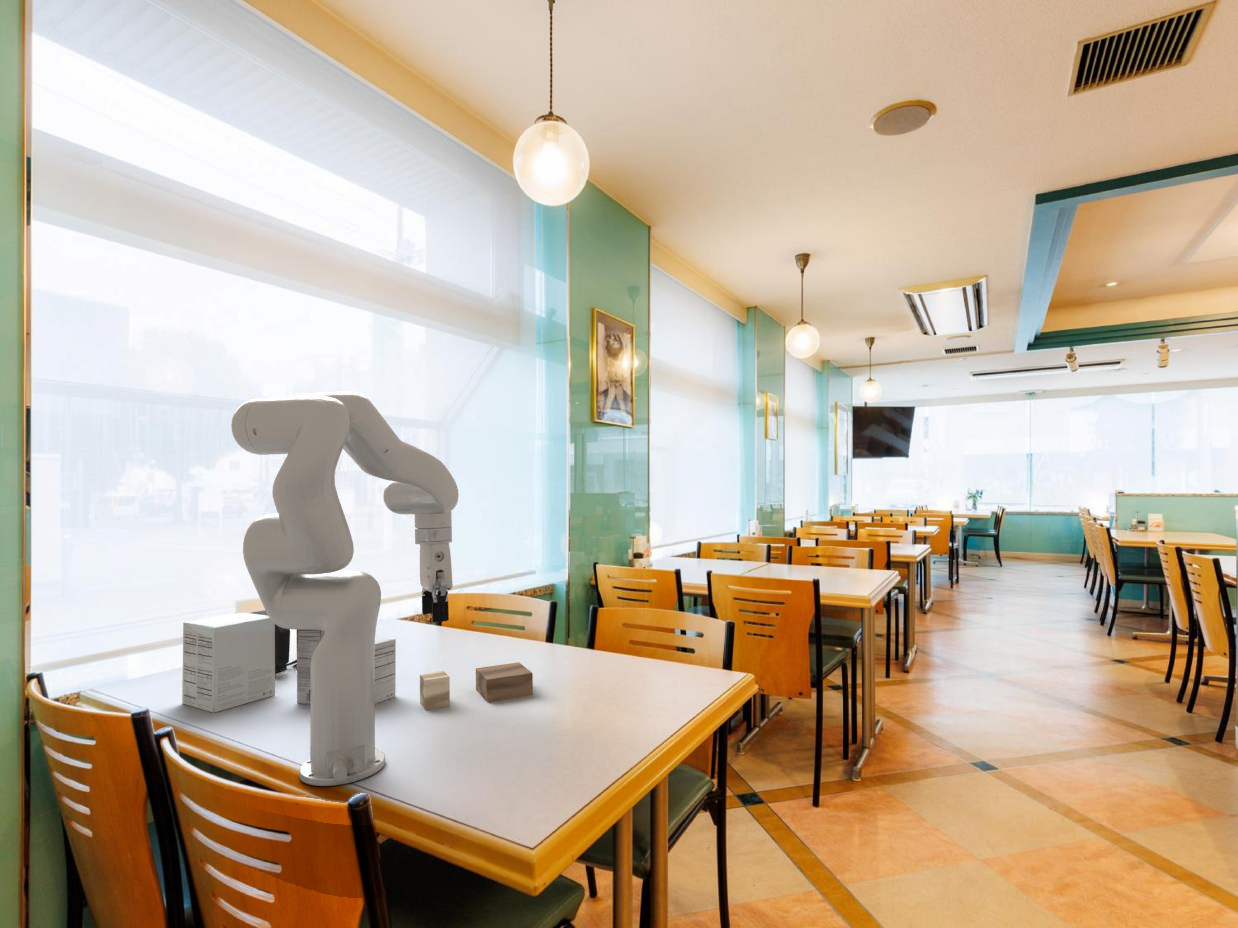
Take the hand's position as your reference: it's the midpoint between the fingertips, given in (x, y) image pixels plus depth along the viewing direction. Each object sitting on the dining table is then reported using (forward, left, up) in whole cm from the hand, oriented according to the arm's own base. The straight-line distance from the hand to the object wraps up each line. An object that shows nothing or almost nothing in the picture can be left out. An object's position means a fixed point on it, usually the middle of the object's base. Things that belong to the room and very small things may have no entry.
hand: (435, 617), depth 136 cm
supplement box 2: (+11, +11, -18) cm, 24 cm away
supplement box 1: (+28, +38, -18) cm, 51 cm away
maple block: (0, 0, -18) cm, 18 cm away
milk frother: (+51, +27, -18) cm, 60 cm away
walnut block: (0, -15, -18) cm, 23 cm away
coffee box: (+18, +20, -18) cm, 32 cm away
